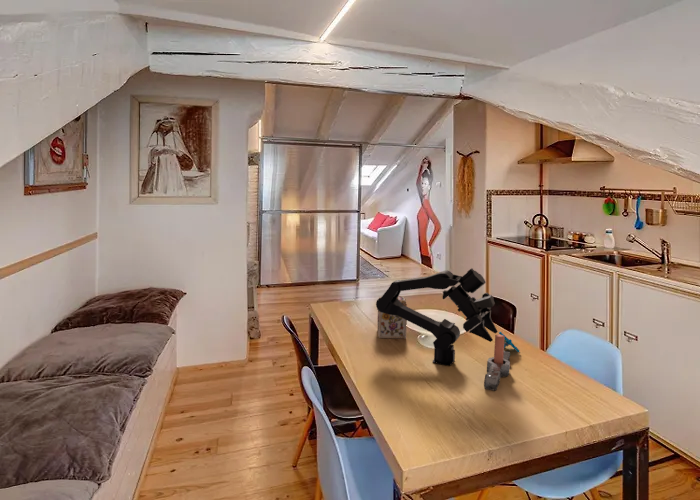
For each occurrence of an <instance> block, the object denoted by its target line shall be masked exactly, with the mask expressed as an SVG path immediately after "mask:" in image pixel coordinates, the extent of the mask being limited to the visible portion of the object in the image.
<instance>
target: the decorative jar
mask: <svg viewBox="0 0 700 500" xmlns="http://www.w3.org/2000/svg"><path fill="white" fill-rule="evenodd" d="M381 297H382V296H379V298H381ZM379 298H378V299H379ZM397 299H398V300H399V301H400V302H401V303H402V304H403V305H404V306H406V307H408V304H407V300H406V298H405V297H403V296H401V295H399V296H398V298H397ZM406 325H408V321H407V320H405V319H403V318H401V317H399V316H397V315H389V314H385V313H382V312H380V311H378V310H377V335H378V338H379V339H407V329H408V328H407V326H406Z"/></svg>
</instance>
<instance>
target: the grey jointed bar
mask: <svg viewBox="0 0 700 500" xmlns="http://www.w3.org/2000/svg"><path fill="white" fill-rule="evenodd" d="M510 357H511V352H510V351H505V350H504V356H503V364H496V363H494V356H493V357H489V358H488V359H487V361H486V373H485V376H484V381H483V387H484V389H485V390H489V391H490V390H491V391H494V392H495V391H497V390H498V387H499V385H500V384H501V383H500V382H501V378H507V377H509V376H510V370H511V369H510V367H511V362H510Z"/></svg>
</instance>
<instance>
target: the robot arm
mask: <svg viewBox="0 0 700 500" xmlns="http://www.w3.org/2000/svg"><path fill="white" fill-rule="evenodd" d="M457 284H459V285H457ZM485 284H486V279H485V278H484V277H483V275H482V274H480V273H479V272H478V271H476V270H475V269H474V268H472V267H471V268H470V269H469V270H468V271H467V272H466V273H465V274H463V275H462V276H461V275H457V274H453V273H452V271H450V270H443V271H439V272H437V273H434V274H432V275H428V276H423V277H413V278H409V279H401V280H400V279H397V280H394V281H393V282H391V284H390V285H389V287H388V288H387V290H386V291H385V292H384V293H383V294H382V295H381V296H380V297H381V298H378V299H377V300H376V302H375V305H376V310H377V312H378V311H380V312H382V313H385V314H389V315H397V316H399V317H401V318H403V319H405V320H407V322H410V323H412V324H413V325H416V326H418V327H419V328H421V329H424V330H426V331H428V332H430V333H431V334H432V335H433V336H434V337H435V339H434V340H433V342H432V344H433V347H434V348H433V349H434V350H433V356H434V357H433V360H432V363H433V364H439V365H443V366H449V367H451V365H452V364H453V363H454V362H455V359H456V356H455V355H456V350H455V348H454V347H455V346H454V345H453V344H455V343H456V341H457V340H458V339H459V338H460V336H461V335H460V334H461V331H460V328H459V327H458V326H457V325H456V323H455V322H451V321H449V320H448V319H446V318H444V319H443V320H442V321H438V320H436V319H433V318H431V317H429V316H427V315H424V314H423V313H421V312H419V311H416V310H415V309H412V308H410V307H408V306H407V307H406V306H404V305H403V304H402V303H401V302H400V301H399V300H398V299H397V298H398V296H400V293H401V292H404V291H412V290H419V289H432V290H433V289H434V290H442V300H445V299H446V298H449V299H450V300H451V301H452V302H453V303H454V305H455V306H456V308H458V309H457V311H458V313H460V312H461V313H462V315H464V316H465V321H464V323H463V324H462V328H463V330H464V331H465V332H466V333H469V334H473V335H475V336H477V337H479V338H482V339H483V340H485V341H488V342H490V343H491V342H492V341H493V337H492V336H491V335H490V333H489V332H488V330H489V331H490V332H492V333H494V334H495V335H497V333H499V332H498V331H499V330H498V329H497V327H496V325H495V323H494V321H493V320H492V317H491V315H492V310H491V309H492V308H493V307H494V306H495V304H496V302H495V300H494V296H493V295H492V294H490V293H488V292H484V293H483V294H482V296H481V297H480V298H478V299H477V298H476V297H473V296H472V297H471V295H469V294H468V293H471V294H474V293H475V292H476V291H477V290H478V289H480V288H482V286H484V285H485ZM449 287H450V288H449ZM448 288H449V289H448ZM446 289H447V290H446Z"/></svg>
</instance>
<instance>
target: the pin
mask: <svg viewBox="0 0 700 500" xmlns="http://www.w3.org/2000/svg"><path fill="white" fill-rule="evenodd" d="M505 336H506V335H505ZM505 336H503V335H500V334H495V336H494V350H493V351H494V352H493V353H494V354H493V357H494V363H496V364H503V356H504V351H505V348H504V339H505Z"/></svg>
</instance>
